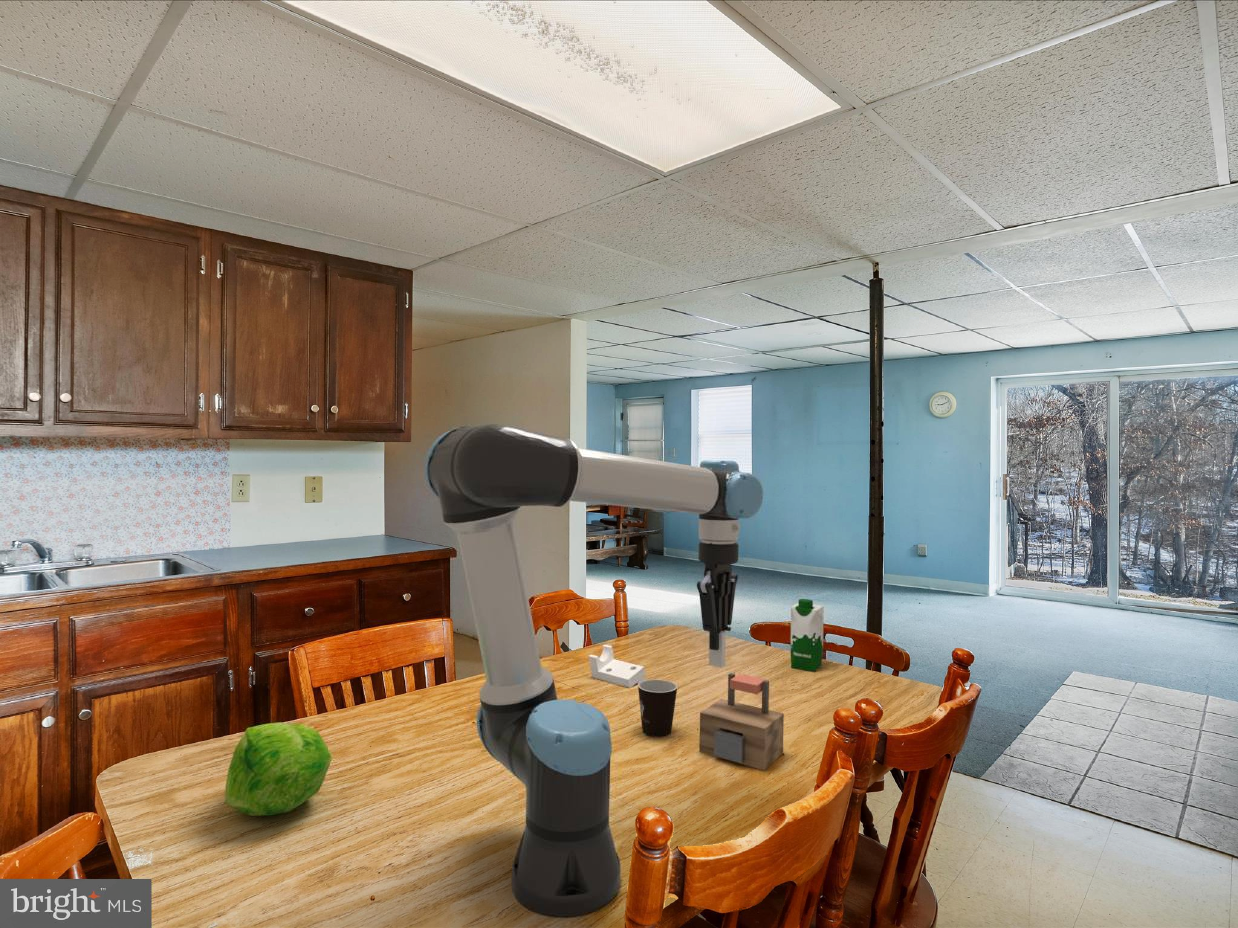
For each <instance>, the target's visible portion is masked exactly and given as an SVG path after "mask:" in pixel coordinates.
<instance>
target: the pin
mask: <svg viewBox="0 0 1238 928" xmlns="http://www.w3.org/2000/svg"><path fill="white" fill-rule="evenodd" d="M714 755H715V756H714V757H716V756H719V757H718V758H720V757H722V758H721V759H723V758H726V759H729V760H728V761H730V760H732V761H731V762H733V761H736V762H735V763H737V762H739V763H738V764H740V763H743V762H744V758H745V736H743V734H742V733H739V732H733V733H730V732H726V731H722V730H718V729H717V730H715V731H714ZM726 759H725V760H726Z"/></svg>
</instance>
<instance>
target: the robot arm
mask: <svg viewBox="0 0 1238 928" xmlns="http://www.w3.org/2000/svg"><path fill="white" fill-rule="evenodd" d="M423 467H424V468H423V469H424V476H425V479H426V483H427V486H428V487H429V488H430V490H431V492H432V493H433V494H434V495H435V496H436V497H437V498H438V499H439V504H440V505H439V506H440V508H441V510H440V511H441V514H442V519H443V524H444V525H445V526H447V527H449V528H450V529H452V530H453V531H454V532H455V533H456V535H457V540H458V541H457V542H458V544H459V550H460V554H461V561H462V565H463V569H464V575H465V579H466V585H467V589H468V596H469V599H470V604H471V609H472V614H473V619H474V625H475V628H476V629H475V631H476V634H477V635H476V636H477V639H478V645H479V650H480V654H481V660H482V664H483V668H484V669H483V670H484V674H485V678H486V679H485V682H484V684H483V685H482V686H481V687H480V689H479V693H478V696H479V701H480V706H479V707H478V709H477V714H476V730H477V733H478V737H479V740H480V741H481V743H482V745H483V746H484V749H485V751H487V753H488V754H489V755H490V756H491V757H492V758H493V759H494V760H496V762H499V764H501V765H502V766H503V767H504V768H505V769H506V770H507V771H509V772H510V773H511V774H512V775H513V776H515V777H516V778H517V780H519V781H520V782H521V783H522V784H523V785H524V786H525V790H526V791H525V827H524V831H523V833H522V836H521V839H520V843H519V844H518V847H517V849H516V850H517V851H516V854H515V857H514V860H513V863H512V868H511V889H512V893H513V894H514V896H515V898H516V899H517V901H518V902H520V903H521V904H522V905H523V906H524V907H526V908H527V909H530V910H531V911H534V912H536V913H538V914H542V915H546V916H551V917H576V916H580V915H586V914H589V913H591V912H595V911H597V910H599V909H601V908H602V907H604V906H606V905H608V904H609V902H611V901H612V900H613V899H614V898H615V896H616V895H617V894H616V893H618V892H619V890H620V886H621V874H622V873H621V872H622V871H621V870H622V869H621V867H622V866H621V861H620V857H619V854H618V853H617V850H616V846H615V843H614V842H615V841H614V838H613V834H612V831H611V827H610V799H611V798H610V796H611V795H610V789H611V787H610V786H611V785H610V784H611V755H612V752H613V751H612V750H613V749H612V748H613V745H612V740H611V738H612V737H611V727H610V723H609V721H608V719H607V717H606V715H605V714H604V713H603V712H602V711H601V710H600V709H598V708H596V707H595V706H594V705H592V704H589V703H587V702H577V700H576V699H575V700H574V699H564V698H563V699H562V698H561V699H558V695H557V690H556V685H555V679H554V675H553V673H552V671H550V670H548V669H547V668H545V667H543V666H542V663H541V659H540V655H539V654H540V653H539V647H538V642H537V638H536V632H535V628H534V622H533V621H534V620H533V616H532V610H531V607H530V606H531V605H530V599H529V596H528V595H529V594H528V589H527V585H526V580H525V574H524V567H523V563H522V558H521V554H520V553H521V552H520V547H519V542H518V536H517V532H516V526H515V518H516V516H517V515H518V514H519V513H520V510H521V509H522V507H533V506H534V507H537V506H540V507H542V506H544V507H555V508H557V507H558V508H562V507H564V506H566V505H567V504H569V502H578V503H587V504H597V505H607V506H608V505H609V506H618V507H627V508H638V509H647V510H648V509H649V510H652V511H654V512H656V513H665V514H670V513H684V514H694V515H698V539H699V540H701V541H700V542H699V543H698V561H699V562H700V563H704V565H705V566H704V571H703V577H704V578H703V580H702V581H700V580H699V581H697V582H696V588H697V590H698V594H699V605H700V614H701V623H702V630H703V631H705V632H708V666H712V667H716V668H721V669H722V668H725V667H726V637H727V636H726V632H731V630H732V627H730V626H731V625H732V620H733V612H734V605H735V604H734V603H735V597H736V596H735V594H736V588H737V587H736V586H737V582H738V579H739V576H738V574H734V573H732V572H733V567H732V565H734V564H737V563H738V562H739V546H740V545H739V544H738V542H736V541H738V540H739V531H740V530H741V526H740V524H739V521H740V520H739V519H750V518H752V517H754V516H755V515H756V514H757V513H758V512H759V511H760V509H761V507H762V505H763V498H764V490H763V489H764V488H763V486H762V483H761V481H760V479H759V478H758V477H757V476H756V475H754V473H750V472H744V471H740V468H739V467H740V466H739V464H738V463H737V461H735V460H710V459H709V460H708V459H707V460H706V459H705V460H702V461H700V463H699V466H695V465H688V464H681V463H677V462H669V461H661V460H657V459H652V458H651V459H650V458H646V457H645V458H644V457H637V456H632V455H626V454H624V455H623V454H618V453H612V452H606V451H599V450H594V449H587V448H581V447H577V445H576V444H575V442H574V441H572V440H571V439H570V438H569V439H568V438H566V437H565V438H563V437H559V436H553V435H549V434H544V433H540V432H536V431H533V430H528V429H524V428H521V427H517V426H513V425H508V424H504V423H501V424H500V423H490V424H489V423H488V424H485V425H467V426H466V425H462V426H459V427H456V428H452V429H451V430H448V431H446V432H444V433H442V435H440V436H439V437H437V438H436V439H435V441H434V442H433V443H432V444H431V446H430V447H429V449H428V451H427V453H426V456H425V460H424V466H423ZM618 889H619V890H618Z"/></svg>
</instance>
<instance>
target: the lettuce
mask: <svg viewBox="0 0 1238 928" xmlns="http://www.w3.org/2000/svg"><path fill="white" fill-rule="evenodd" d="M332 759H333V756H332V754H331V751H330V749H329V746H328V745H327V743H326V742H325V740H324V739H323V738H322V736H321V735H320V733H319V731H318V730H316V729H314V728H312V727H309V726H306V725H304V724H297V723H286V722H281V721H280V722H272V723H271V722H270V723H265V724H264V723H263V724H260V725H255V726H251V727H246V730H245V731H244V734H242V736H241V738H240V740H239V741H238V743H237V745H236V746H235V749H234V752H233V754H232V758H231V761H230V763H229V766H228V769H227V777H226V782H225V791H224V792H225V793H224V795H225V796H224V803H225V804H227V806H230V807H231V808H234V809H235V810H237V811H239V812H241V813H242V814H246V815H247V816H250V817H251V816H274V815H279V814H287V813H290V812H291V811H292V810H294V809H296V808H298V807H299V806H300V805H303V804H304V802H306V801H308V800H309V799H310V798H312V797H314V795H317V793H319V791H320V789H321V787H323V784H324V781H325V778H326V776H327V773H328V770H329V767H330V765H331V762H332Z"/></svg>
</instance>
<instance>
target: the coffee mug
mask: <svg viewBox="0 0 1238 928" xmlns="http://www.w3.org/2000/svg"><path fill="white" fill-rule="evenodd" d="M637 687H638V688H637V689H638V698H639V711H640V720H641V721H640V722H641V731H642V733H643V734H644V735H646V736H648V737H652V738H664V737H665V738H666V737H668V736H670V735H671V734H672V730H673V729H672V728H673V722H674V715H675V708H676V707H675V706H676V699H677V691H678V685H677V684H676V683H674V682H673V681H670V680H665V679H657V678H656V679H645V680H644V681H642V682H640V683H639V684H637Z"/></svg>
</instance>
